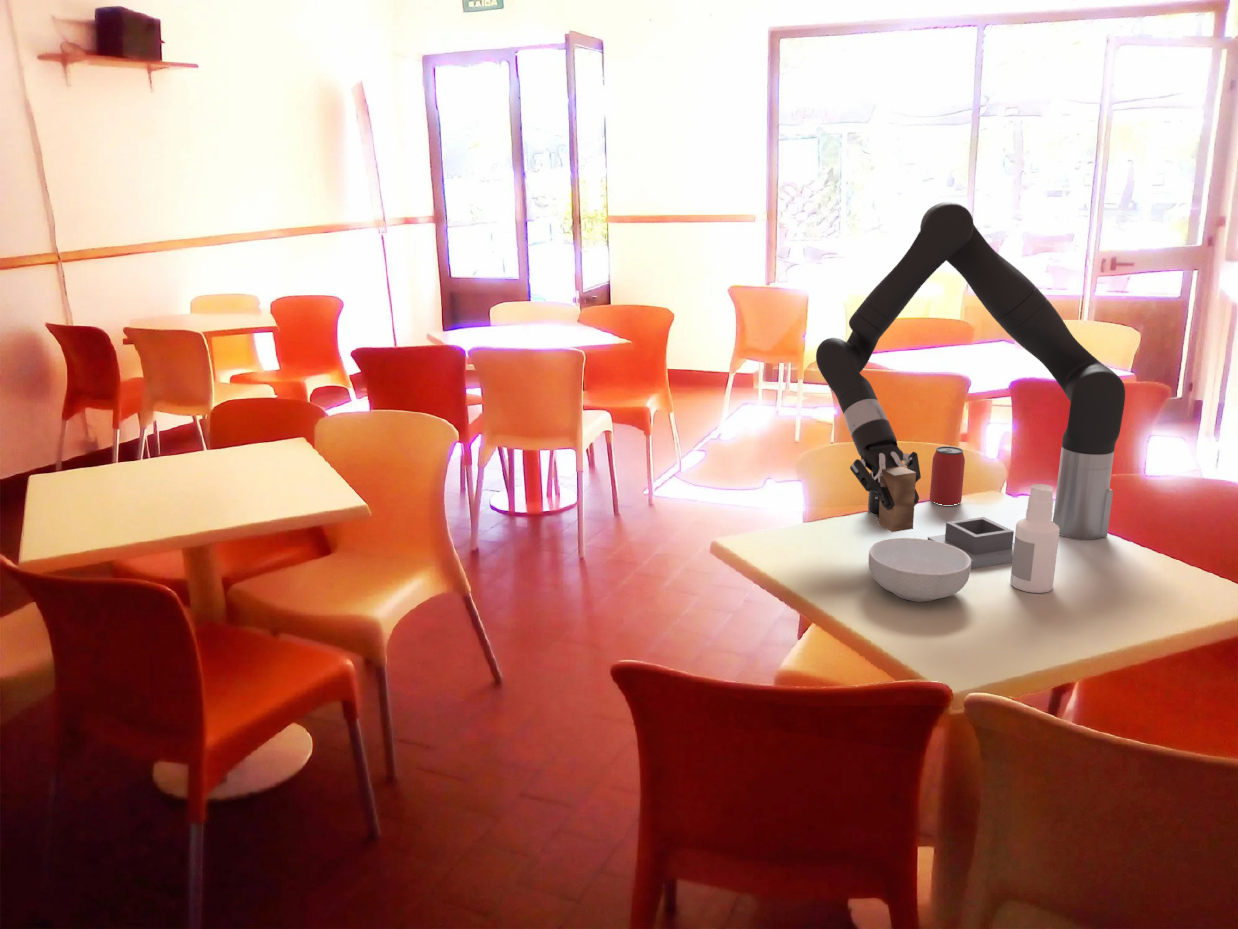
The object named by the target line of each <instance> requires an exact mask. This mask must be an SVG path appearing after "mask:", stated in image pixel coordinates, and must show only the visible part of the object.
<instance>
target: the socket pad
mask: <svg viewBox="0 0 1238 929" xmlns="http://www.w3.org/2000/svg"><path fill="white" fill-rule="evenodd" d="M1014 532H1015V531H1014V530H1012V529H1010V528H1008V527H1005V525H1004V526H1003V525H1002V524H1000V523H998V522H995V521H993V520H991V519H989V518H987V517H985V516H982V517H981V516H980V517H973V518H967V519H966V518H965V519H961V520H954V521H953V520H952V521H947V522H946V523H945V534H940V535H933V536H927V540H932V541H937V542H941V543H945V544H948V545H951V546H954V547H956V548H959V549H960V550H962V551H964V552H965V553H966V554H967V555H968V556H969V557H970V559H971V570H972V569H977V568H983V567H989V566H995V565H996V566H997V565H1001V564H1009V563H1012V560H1013V551H1014V536H1015V533H1014Z"/></svg>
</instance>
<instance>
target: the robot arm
mask: <svg viewBox="0 0 1238 929" xmlns="http://www.w3.org/2000/svg"><path fill="white" fill-rule="evenodd" d="M919 227H920V229H919V232H918V233H917V236H916V237H915V239H914V241H913V242H912V244H911V245H910V247H909V248H908V250H907V251H906V252H905V254H904V255H903V256H902V258H901V259H900V260H899V262H897V264H896V265H895V266H894V267H893V269H892V270H891V271H890V272H889V273H888V274H887V275H886V276H885V277H884V278H883V279H882V280H881V281H880V282H879V283H878V284H877V285H876V286H875V287H874V289H872V291H871V292H870V293H869V294H868V295H867V296H866V297H865V299H864V300H863V302H862V303H861V304H860V305H859V306H858V308H857V309H856V311H855V312H853V314H852V316H851V317H850V319H849V320H848V325H849V328H850V329H851V331H852V332H851V333H850V335H849V337H848V339H847V340H846V341H845V340H844V339H841V338H837V337H830V338H826V339H825V340H822V341H821V342H820V343H819V345H818V347H817V349H816V355H815V360H816V361H815V362H816V365H817V367H818V370H819V372H820V373H821V375H822V377H823V379H824V381H825V382H826V383H827V385H828V386H829V388H830V389H831V391H833V394H834V395H835V396H836V399H837V401H838V403H839V406H840V410H841V411H842V414H843V416H844V419H845V424H846V427H847V429H848V431H849V434H850V436H851V438H852V441H853V443H854V446H855V449H856V450H857V453H858V455H859V456H860V459H855V460H854V461H853V463H852V464H851V465H850V467H849V470H850V471H851V472H852V473H853V475H854V476H855V478H856V479H857V481H858V482H859V483H860V484H861V486H862V487H863V489H864V490H865V491H866V492H869V491H875V492H876V493H877V494H878V496H879V498H880V500H881V503H882V505H883V507H885V508H886V510H891V509H892V508H893V507H894V506H895V503H894V501H893V499H892V497H891V494H890V492H889V490H888V487H887V488H886V482H885V479H884V477H883V476H884V473H883V471H882V469H886V468H892V467H902V466H903V467H905V468H907V469H910V470H912V471H914V472H916V483H918V481H919V480H920V479H922V478H921V477H922V476H921V475H922V474H921V469H920V462H919V456H918V453H917V452H916V451H912V452H911V453H905V452H903V450H901V449H900V447H899V446H898V440H897V439H898V438H896V434H895V432H894V431H893V428H892V426H891V424H890V421H889V419H888V417H887V415H886V413H885V410H884V408H883V407H882V405H881V404H880V401H879V400H878V397H877V395H876V393H875V391H874V389H873V387H872V384H871V383H870V381H869V380H868V379H867V378H866V377H865V376H863V375H862V373H861V372H862V371H863V369H865V367H866V366H867V364H868V362H870V358H871V356H872V354H873V353H874V351H875V349H876V347H877V345H878V342H879V341H880V340H879V339H880V338H881V337H882V336H883V335H884V333H885V332H886V331H887V330H888V329H889V328H890V326H891V325H892V324H894V322H895V320H896V319H897V318H898V316H900V314H901V313H902V312H903V310H904V309H905V307H906V306H907V305H908V304H909V303H910V301H911V300H912V298H914V296H915V295H916V293H917V292H919V290H920V288H922V286H923V285H924V284H925V283H926V282H927V280H928V279H929V278H930V277H931V276H932V275H933V274H934V273H935V272H936V271H937V270H938V269H939V268H940V267H941V266H942V265H943V264H944V263H945V262H947V263H949V264H950V265H951V267H953V268H954V269H955V270H956V271H957V272H958V273H959V275H961V276H962V278H963V279H964V280H965V282H967V284H968V285H969V287H970V289H971V290H972V291H973V293H974V294H975V296H976V297H977V299H978V300H979V301H980V302H981V304H982V305H983V307H984V308H985V309H986V311H987V312H988V313H989V314H990V315H991V317H992V318H993V319H994V320H995V321H996V322H997V324H998V325H1000V327H1002V329H1003V330H1004V331H1005V332H1006V333H1007V334H1008V335H1009V336H1010V337H1011V338H1012V339H1013V340H1015V342H1016V343H1018V345H1020V346H1021V347H1022V348H1023V349H1024V350H1025V351H1027V352H1028V353H1029V354H1031V355H1032V356H1033V357H1034V358H1035V359H1036V360H1038V361H1039V362H1040V363H1041V364H1042V365H1043V366H1044V367H1045V368H1046V369H1047V370H1048V371H1049V373H1050V374H1051V376H1052V377H1053V378H1054V380H1055V381H1056V382H1057V383H1058V386H1060V388H1061V389H1062V390H1063V392H1064V394H1065V396H1066V397H1067V399H1068V400H1069V402H1070V405H1069V413H1068V418H1067V419H1068V420H1067V426H1066V430H1065V431H1064V432H1063V435H1062V442H1061V449H1060V457H1059V467H1058V474H1057V482H1056V491H1055V492H1056V493H1055V500H1054V508H1053V509H1054V510H1053V516H1052V522H1054V523H1055V524H1056V525H1058V526H1059V529H1060V532H1059V536H1063V537H1066V538H1070V539H1076V540H1096V539H1100V538H1108V532H1109V525H1110V518H1111V512H1112V511H1111V510H1112V509H1111V508H1112V504H1113V495H1114V492H1113V491H1114V490H1112V488H1110V485H1111V477H1112V470H1113V463H1114V455H1115V448H1116V443H1117V441H1118V438H1119V436H1120V432H1121V427H1122V421H1123V415H1124V410H1125V401H1126V387H1125V385H1124V382H1123V380H1122V378H1121V377H1120V376H1119V375H1118V374H1116V373H1115V371H1113V370H1111V369H1110V368H1109V367H1108V366H1106V365H1105V364H1103V363H1102V362H1101V361H1099V360H1098V359H1097V358H1096V357H1095V356H1093V354H1091V353H1090V352H1089V351H1088V350H1087V349H1086V348H1085V347H1084V346H1083V345H1081V343H1080V342H1079V341H1077V339H1076V338H1075V337H1074V335H1073V334H1072V332H1071V331H1070V330H1069V328H1068V326H1067V325H1066V322H1064V320H1063V317H1061V316H1060V314H1059V312H1058V311H1057V310H1056V308H1055V307H1054V306H1053V305H1052V303H1051V302H1050V301H1049V299H1048V298H1047V297H1046V296H1045V295H1044V294H1043V293H1042V292H1041V291H1040V289H1039V288H1038V287H1037V286H1036V285H1035V284H1034V283H1033V281H1031V280H1030V278H1028V277H1027V276H1026V275H1024V273H1022V271H1020V270H1019V269H1018V268H1017V267H1016V266H1014V265H1013V264H1011V263H1010V262H1009V261H1008V260H1007V259H1006V258H1004V257H1003V256H1002V255H1000V253H998V252H997V251H996V250H995V249H994V248H993V247H991V245H990V244H989V242H987V240H986V239H985V237H984V236H983V235H982V234H981V233H980V231H979V230H978V228H977V227H976V225H975V224H974V219H973V215H972V214H971V212H970V211H969V209H968V208H966V206H963V205H961V204H960V203H957V202H950V201H947V202H945V201H943V202H941V203H937V204H934V205H933V206H931V207H930V208H928V209H927V211H926V212H925V213H924V215H923V216H922V219H921V222H920V226H919ZM903 462H904V463H903ZM869 471H870V472H872V476H871V474H870V472H869ZM919 500H920V496H919V493H918V492H917V489H916V488H915V499H914V507H916V505H917V504H918V503H919Z"/></svg>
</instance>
